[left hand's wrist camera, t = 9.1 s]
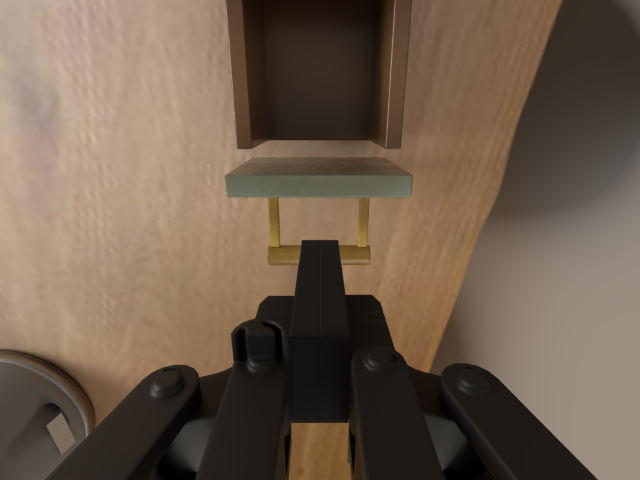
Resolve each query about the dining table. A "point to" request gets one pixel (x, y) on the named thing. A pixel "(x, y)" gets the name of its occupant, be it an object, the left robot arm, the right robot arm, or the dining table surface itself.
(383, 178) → the drawer
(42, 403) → the left robot arm
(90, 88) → the dining table surface
